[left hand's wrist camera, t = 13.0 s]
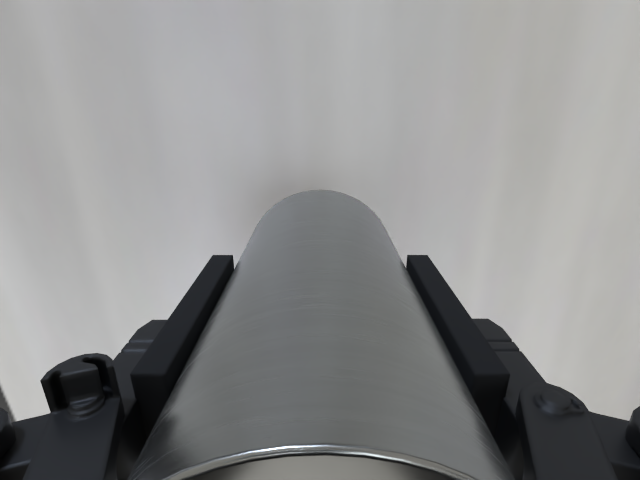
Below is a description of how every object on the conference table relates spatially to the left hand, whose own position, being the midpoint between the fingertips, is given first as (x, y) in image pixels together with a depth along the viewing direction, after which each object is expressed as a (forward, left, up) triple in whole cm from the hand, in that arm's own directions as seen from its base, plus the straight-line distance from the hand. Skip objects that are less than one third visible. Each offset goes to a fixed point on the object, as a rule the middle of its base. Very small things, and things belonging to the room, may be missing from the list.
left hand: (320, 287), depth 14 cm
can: (0, 0, -3) cm, 3 cm away
